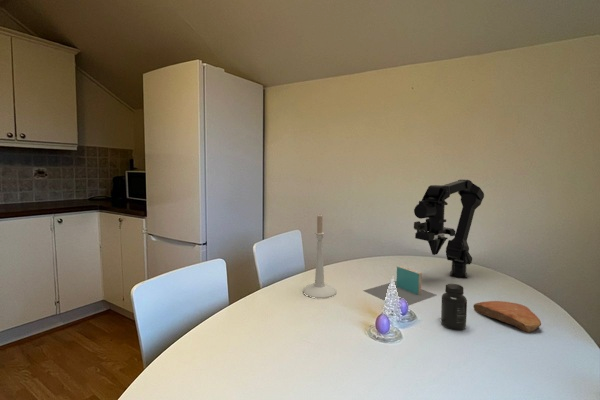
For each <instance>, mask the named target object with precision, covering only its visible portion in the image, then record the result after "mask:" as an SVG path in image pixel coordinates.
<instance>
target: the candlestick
mask: <svg viewBox="0 0 600 400" xmlns="http://www.w3.org/2000/svg"><path fill="white" fill-rule="evenodd" d="M316 224H317V225H316V232H315V233H314V234H315V236H316V237H315V238H316V239H317V241H316V254H315V255H316V257H315V259H316V260H315V273H314V274H315V276H314V283H311V284H308V285H306V286H304V287H303V289H302V293H303V292H304V293H305V294H306V295H308V296H311V297H315V298H326V299H330V298H329V297H331V298H333V297H335V296H336V295H337V289H336V288H335V287H334V286H332V285H331V284H328V283H325V274H324V272H325V271H324V254H323V253H324V251H323V250H324V249H323V247H324V246H323V238H324V234H325V232H323V215H322V214H319V215H317V217H316ZM334 295H335V296H334ZM332 296H333V297H332ZM315 298H314V299H315Z"/></svg>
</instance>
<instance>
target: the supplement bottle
mask: <svg viewBox="0 0 600 400" xmlns="http://www.w3.org/2000/svg"><path fill="white" fill-rule="evenodd" d="M464 289H465V288H464V287H463V286H462V285H461V284H457V283H456V284H455V283H447V284H445V289H444V290H445V292H444V293H443V294H442V295H441V303H440V304H441V306H440V307H441V311H440V312H441V313H440V314H441V315H440V316H441V317H440V319H441V320H440V323H441V324H442V326H443V327H445V328H447V329H450V330H454V331H461V330H464V329H465V328H466V327H467V316H468V315H467V312H468V311H467V310H468V309H467V308H468V300H467V297H466V296H465V295H464V292H465V291H464Z"/></svg>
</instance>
